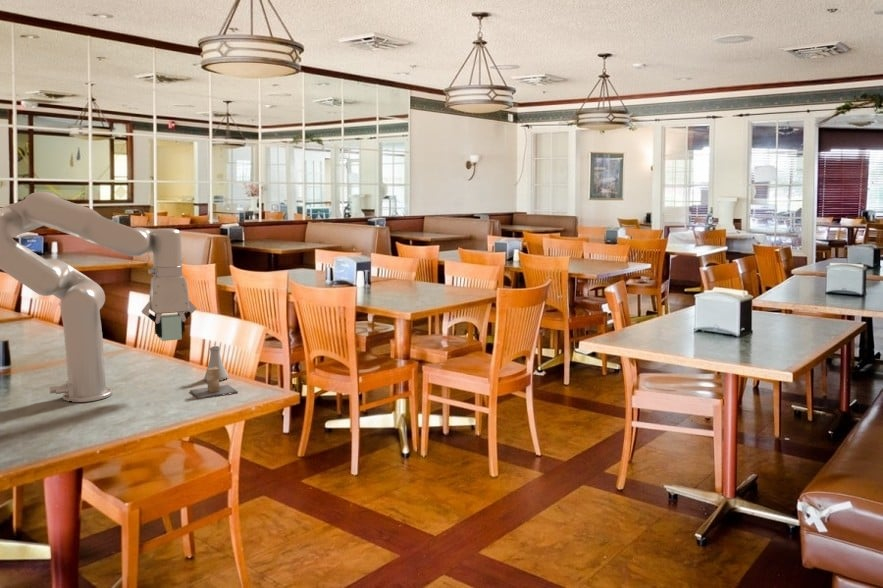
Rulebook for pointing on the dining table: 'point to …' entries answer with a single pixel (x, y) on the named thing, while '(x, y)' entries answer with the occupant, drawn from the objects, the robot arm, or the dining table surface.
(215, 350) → the flask
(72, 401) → the robot arm
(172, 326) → the sage green cube
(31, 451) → the dining table surface
